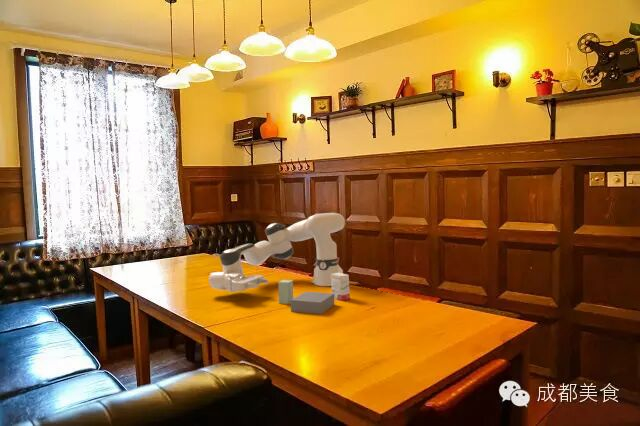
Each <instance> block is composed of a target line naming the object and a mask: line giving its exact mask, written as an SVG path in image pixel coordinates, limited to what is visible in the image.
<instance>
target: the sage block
mask: <svg viewBox="0 0 640 426" xmlns="http://www.w3.org/2000/svg"><path fill="white" fill-rule="evenodd" d="M277 283H278V287H277V288H278V304H285V305H291V300H292V299H293V298H294V281H293V280H292V279H291V280H290V279H282V280H280V281H278V282H277Z"/></svg>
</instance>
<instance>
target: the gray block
mask: <svg viewBox="0 0 640 426" xmlns="http://www.w3.org/2000/svg"><path fill="white" fill-rule="evenodd" d="M334 305H335V298H334V294H332V292H330V293H327V292H318V291H317V292H316V291H315V292H314V291H305V292H303V293H301V294H298V295H297V296H295V297H293V299H292V300H291V303H290V312H293V313H294V312H295V313H303V314H304V313H305V314H313V315H314V314H316V315H322V314H324V313H325V312H327V310H329V309H330V308H332V307H333V306H334Z"/></svg>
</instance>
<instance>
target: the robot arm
mask: <svg viewBox="0 0 640 426" xmlns="http://www.w3.org/2000/svg"><path fill="white" fill-rule="evenodd" d="M345 226H346V219H345V217H344V216H343V215H342V214H341V213H337V212H324V213H316V214H313V215H311V216H309V217H308V218H306V219H303V220H300V221H298V222H295V223H293V224H292V225H289V226H288V227H286V225H285V224H282V223H279V222H272V223H270V224H269V225H268V226H266V228H265V229H264V233H265V237H267V240H268V241H267V240H261V241H258V242H256V243H255V244H254V243H244V244H240V245H238V246H235V247H233V248H229V249H225V250H224V251H222V252H221V254H220V256H219V259H220V262H221V263H220V264H221V266H222V271H215V272H210V274H209V277H208V284H209V285H210V287H211V288H213V289H216V290H221V291H227V293H233V292H242V291H246V290H248V289H252V288H255V289H256V288H258V287H259V285H261V284H265V285H267V284H268V283H269V279H267V278H266V279H265V278H264V275H260V274H252V275H248V276H246V275H245V274H244V270H243V266H242V259H241V257H242V255H243V257H244V259H245V260H246V262H247V263H248V264H250V265H252V266H259V265H262V264H263V263H265V261H266V260H267V259H269V257H271V256H273V258H276V259H278V260H287V259H289V258H290V257H291V256H292V255H293V254H294V252H295V251H294V246H293V245H292V243H291V242H303V241H306V240H309V239H314V241H315V248H316V258H315V265H316V266H315V267H314V268H313V280H311V284H314V285H315V286H318V287H319V286H320V287H332V284H331V274H333V273H343V274H344V270H343V268H341V266H340V265H339V261H340V257H338V251H337V250H338V249H337V248H338V247H337V246H338V245H337V243H336V241H334V240H333V239H332V237H331V234H333V233H337V232H339V231H341V230H343V229H344V227H345Z"/></svg>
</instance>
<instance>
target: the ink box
mask: <svg viewBox="0 0 640 426" xmlns="http://www.w3.org/2000/svg"><path fill="white" fill-rule="evenodd" d="M349 277H350V275H349V274H346V273H344V272H343V273H333V274H331V284H332V286H331V294H334V300H340V301H347V300H350V299H351V293H350V278H349Z"/></svg>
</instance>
